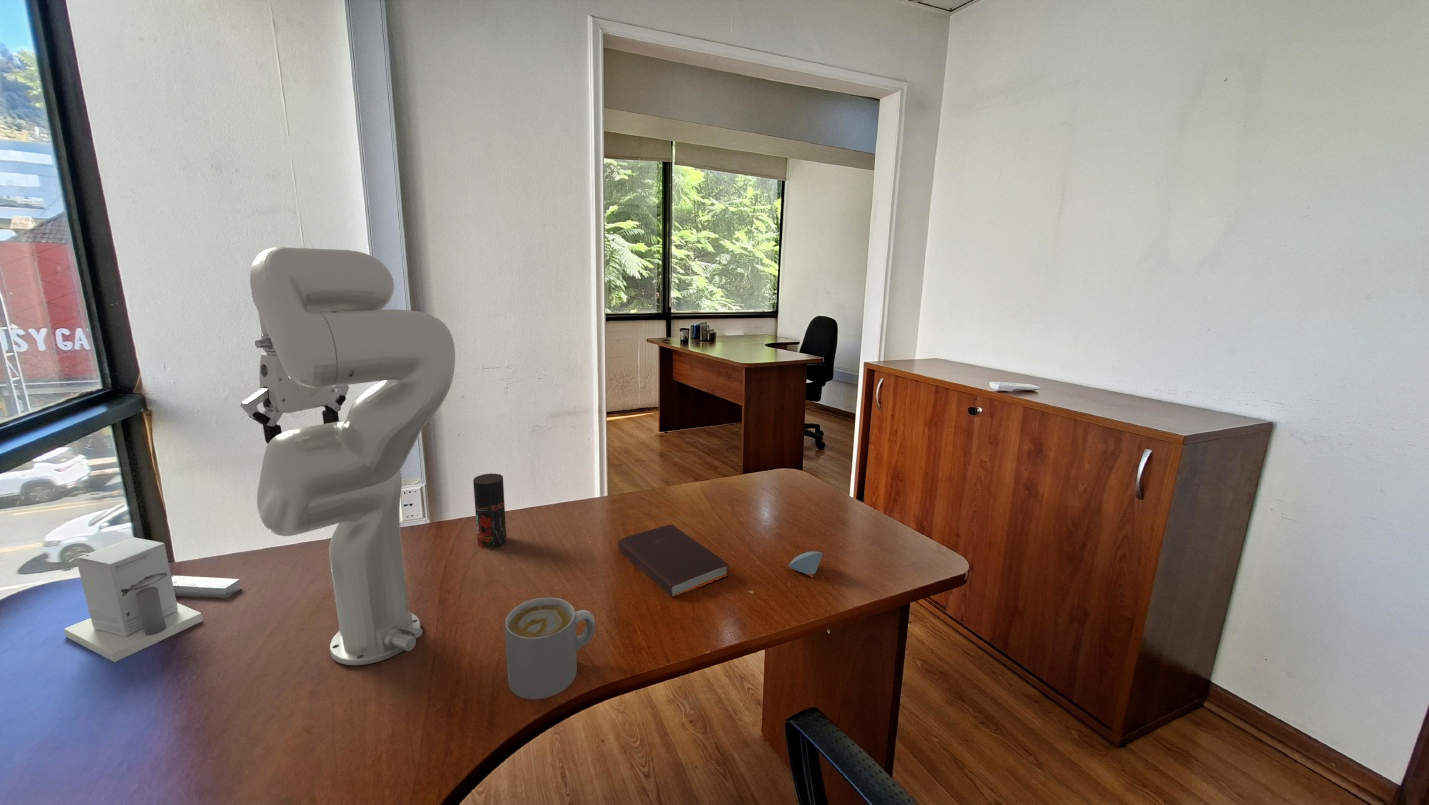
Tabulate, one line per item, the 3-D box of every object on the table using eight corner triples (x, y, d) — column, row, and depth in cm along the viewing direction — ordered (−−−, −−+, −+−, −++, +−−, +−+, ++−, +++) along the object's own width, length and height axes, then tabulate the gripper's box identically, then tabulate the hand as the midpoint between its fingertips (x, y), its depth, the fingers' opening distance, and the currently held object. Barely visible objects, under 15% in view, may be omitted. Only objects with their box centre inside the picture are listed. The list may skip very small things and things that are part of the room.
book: (670, 601, 105) (670, 583, 104) (617, 552, 121) (617, 536, 120) (729, 579, 113) (730, 563, 112) (672, 536, 130) (672, 521, 129)
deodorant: (512, 541, 124) (508, 477, 120) (489, 551, 119) (484, 486, 115) (495, 533, 127) (491, 471, 123) (471, 543, 122) (467, 479, 118)
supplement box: (125, 638, 86) (107, 564, 83) (91, 629, 88) (72, 557, 85) (180, 610, 93) (166, 542, 90) (148, 603, 95) (132, 535, 92)
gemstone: (836, 568, 111) (826, 544, 114) (802, 579, 109) (792, 554, 111) (823, 578, 118) (814, 555, 120) (790, 588, 115) (782, 565, 118)
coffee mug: (513, 708, 78) (510, 646, 75) (503, 663, 86) (500, 606, 84) (606, 679, 84) (606, 621, 81) (589, 640, 92) (588, 586, 90)
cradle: (203, 621, 93) (194, 575, 91) (115, 662, 83) (102, 612, 81) (154, 599, 98) (144, 556, 96) (65, 636, 88) (52, 588, 86)
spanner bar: (244, 586, 103) (242, 577, 103) (223, 600, 99) (221, 590, 98) (159, 582, 103) (156, 572, 103) (134, 595, 99) (132, 585, 99)
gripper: (248, 351, 86) (265, 456, 90) (355, 340, 102) (365, 429, 106) (218, 347, 89) (236, 449, 93) (327, 336, 104) (338, 424, 108)
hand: (305, 439), depth 99 cm, fingers open, 9 cm apart
